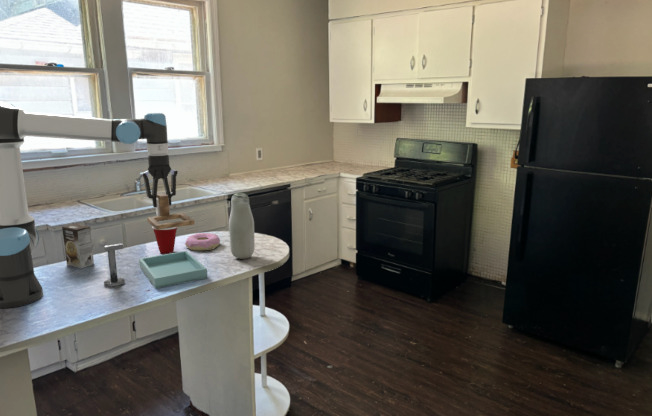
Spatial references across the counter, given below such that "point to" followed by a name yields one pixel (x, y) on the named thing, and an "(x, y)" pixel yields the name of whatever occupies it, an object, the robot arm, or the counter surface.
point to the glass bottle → (241, 227)
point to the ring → (168, 215)
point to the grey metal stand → (113, 267)
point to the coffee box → (78, 245)
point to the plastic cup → (165, 239)
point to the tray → (172, 269)
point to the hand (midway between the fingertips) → (163, 214)
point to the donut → (202, 241)
